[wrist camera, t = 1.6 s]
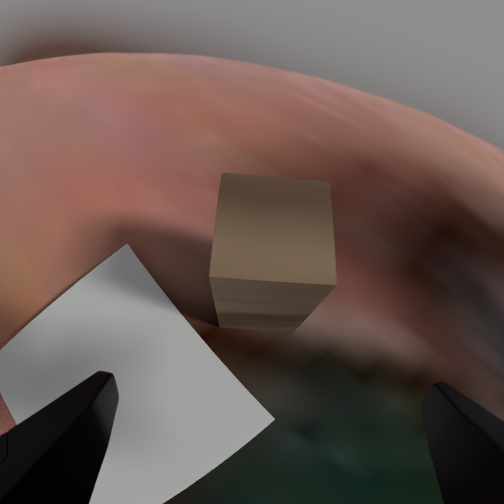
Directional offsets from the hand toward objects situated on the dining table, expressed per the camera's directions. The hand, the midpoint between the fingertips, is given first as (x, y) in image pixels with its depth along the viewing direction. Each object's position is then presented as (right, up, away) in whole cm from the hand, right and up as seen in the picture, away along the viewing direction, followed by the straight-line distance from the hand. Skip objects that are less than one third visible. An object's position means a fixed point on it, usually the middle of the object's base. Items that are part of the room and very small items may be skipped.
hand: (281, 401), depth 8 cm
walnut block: (0, +1, +15) cm, 15 cm away
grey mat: (-11, -6, +11) cm, 16 cm away
